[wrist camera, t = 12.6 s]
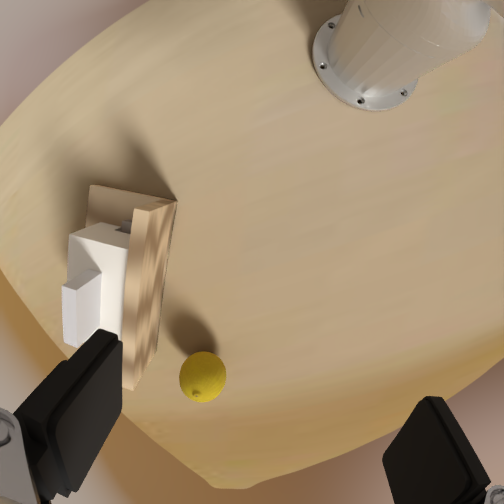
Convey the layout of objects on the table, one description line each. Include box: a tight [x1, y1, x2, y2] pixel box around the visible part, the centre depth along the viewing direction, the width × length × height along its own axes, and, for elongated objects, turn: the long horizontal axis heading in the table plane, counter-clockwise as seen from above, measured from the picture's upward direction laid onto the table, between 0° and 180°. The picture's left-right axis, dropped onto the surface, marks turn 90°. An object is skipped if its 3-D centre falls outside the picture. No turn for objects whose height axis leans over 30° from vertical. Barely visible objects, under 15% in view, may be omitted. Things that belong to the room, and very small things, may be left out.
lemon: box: [179, 351, 226, 402], centre depth 36 cm, size 6×6×8 cm
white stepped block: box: [62, 222, 130, 348], centre depth 31 cm, size 12×7×12 cm, turn 167°
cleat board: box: [85, 185, 178, 391], centre depth 34 cm, size 20×11×9 cm, turn 167°
